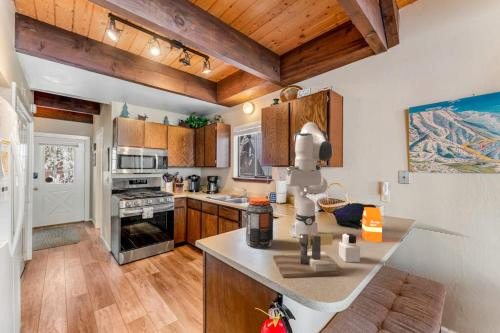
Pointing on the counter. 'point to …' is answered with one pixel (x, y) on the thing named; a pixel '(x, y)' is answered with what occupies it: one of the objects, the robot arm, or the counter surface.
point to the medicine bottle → (349, 249)
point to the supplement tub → (259, 223)
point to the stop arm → (307, 239)
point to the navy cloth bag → (351, 214)
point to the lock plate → (307, 262)
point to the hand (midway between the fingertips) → (303, 195)
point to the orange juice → (372, 224)
